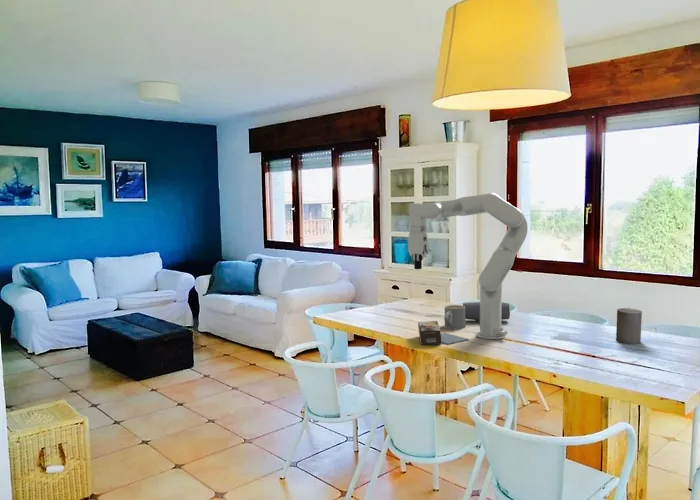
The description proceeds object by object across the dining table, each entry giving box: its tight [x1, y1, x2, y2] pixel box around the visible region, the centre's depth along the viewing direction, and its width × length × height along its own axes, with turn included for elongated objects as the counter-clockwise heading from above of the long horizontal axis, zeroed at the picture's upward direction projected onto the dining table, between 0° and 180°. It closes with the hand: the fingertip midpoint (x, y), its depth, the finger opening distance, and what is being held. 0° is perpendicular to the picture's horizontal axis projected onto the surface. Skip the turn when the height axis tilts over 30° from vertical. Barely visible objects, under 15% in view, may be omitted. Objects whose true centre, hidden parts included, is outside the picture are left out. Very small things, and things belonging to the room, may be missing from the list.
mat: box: [441, 332, 470, 346], centre depth 250 cm, size 15×13×1 cm
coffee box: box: [417, 320, 442, 346], centre depth 247 cm, size 9×6×16 cm
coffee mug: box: [443, 304, 466, 330], centre depth 272 cm, size 13×10×10 cm
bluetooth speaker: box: [462, 301, 511, 323], centre depth 285 cm, size 23×9×10 cm, turn 84°
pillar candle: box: [615, 307, 643, 345], centre depth 240 cm, size 10×10×15 cm
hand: (418, 268), depth 260 cm, fingers closed
